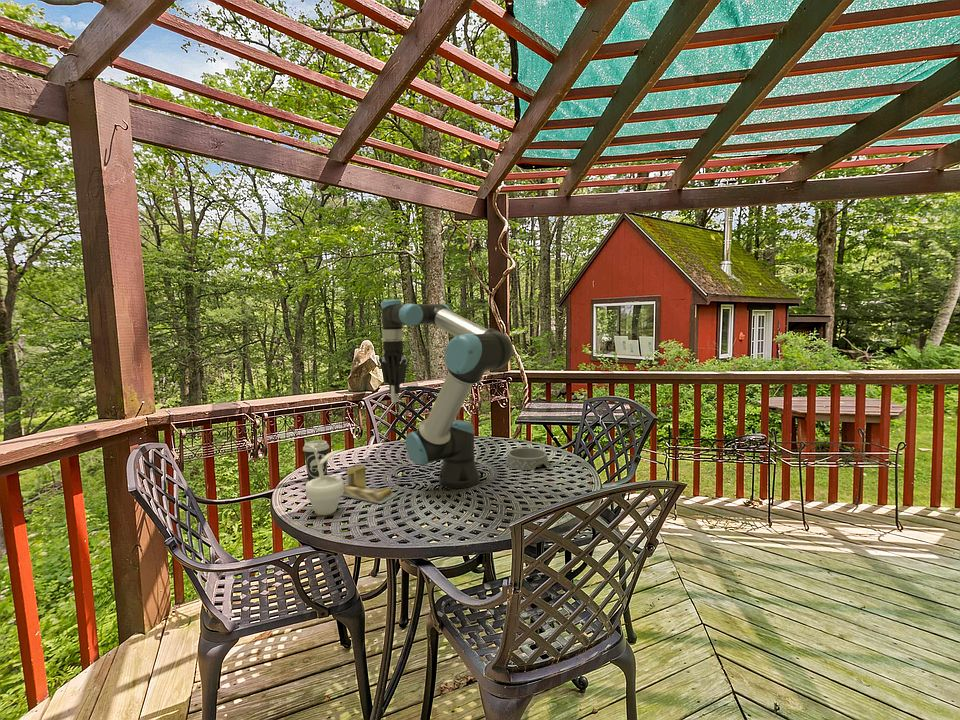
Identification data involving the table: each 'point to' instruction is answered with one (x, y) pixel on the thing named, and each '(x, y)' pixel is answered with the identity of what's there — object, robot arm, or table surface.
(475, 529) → the table surface
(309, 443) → the coffee cup
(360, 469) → the sliding head
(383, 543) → the table surface
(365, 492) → the beige flat bent piece
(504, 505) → the table surface
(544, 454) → the dog bowl
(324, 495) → the potted plant
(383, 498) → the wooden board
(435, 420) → the robot arm
